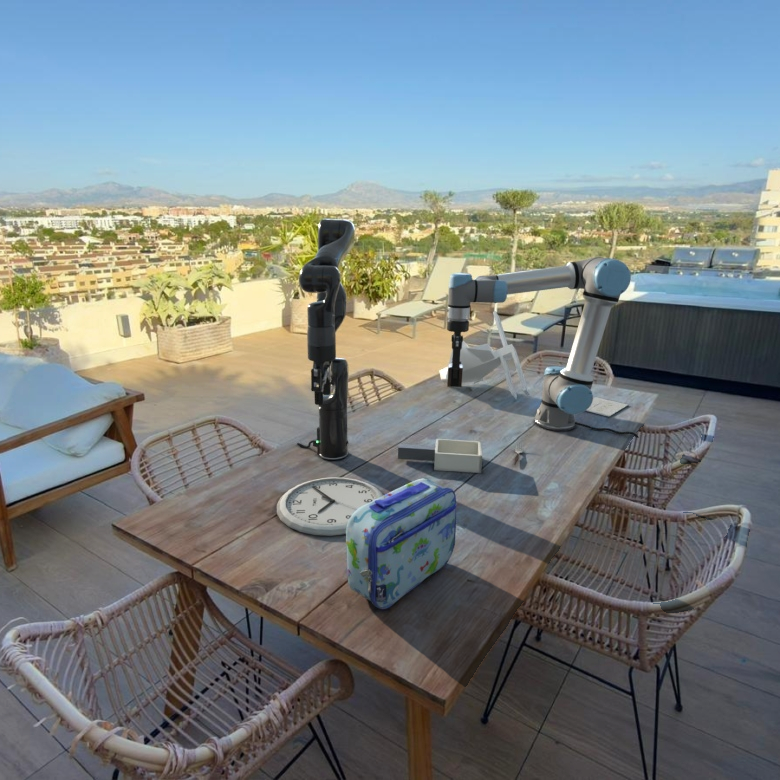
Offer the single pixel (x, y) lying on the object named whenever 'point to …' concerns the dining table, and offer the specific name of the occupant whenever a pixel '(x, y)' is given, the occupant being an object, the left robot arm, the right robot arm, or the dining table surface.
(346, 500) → the wall clock
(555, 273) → the right robot arm
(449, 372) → the walnut block
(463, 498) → the dining table surface
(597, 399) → the invitation card
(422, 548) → the lunch box
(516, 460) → the fork
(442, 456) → the bin
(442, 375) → the white plastic object
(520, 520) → the dining table surface
